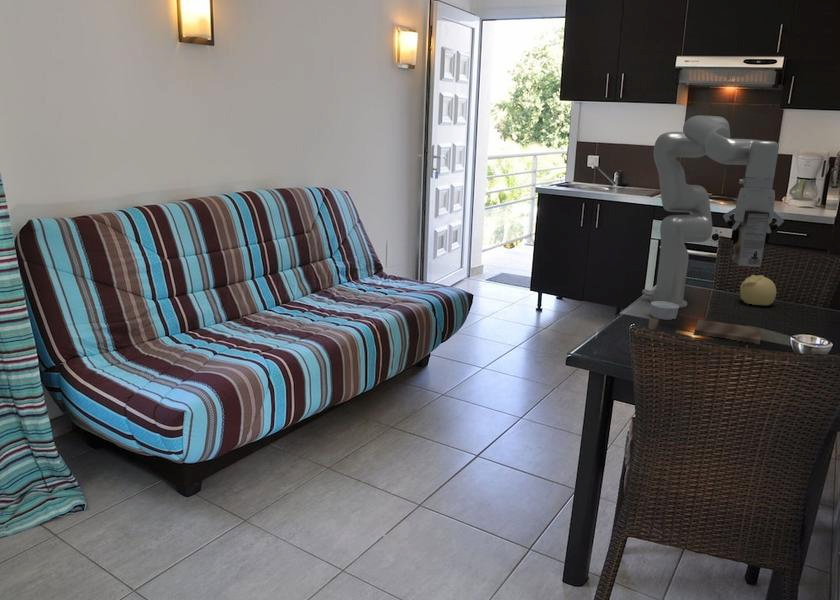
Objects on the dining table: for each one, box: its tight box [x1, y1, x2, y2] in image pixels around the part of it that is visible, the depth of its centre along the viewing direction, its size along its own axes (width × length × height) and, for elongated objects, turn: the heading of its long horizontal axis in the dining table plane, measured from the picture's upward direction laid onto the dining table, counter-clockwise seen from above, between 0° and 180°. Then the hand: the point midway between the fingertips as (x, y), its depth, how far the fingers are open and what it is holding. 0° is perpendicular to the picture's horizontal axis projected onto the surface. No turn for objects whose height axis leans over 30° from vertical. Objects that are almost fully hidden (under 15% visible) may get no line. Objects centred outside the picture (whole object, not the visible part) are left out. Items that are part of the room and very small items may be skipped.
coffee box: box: [731, 211, 770, 268], centre depth 205 cm, size 9×6×16 cm
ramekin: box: [650, 301, 680, 321], centre depth 228 cm, size 9×9×4 cm
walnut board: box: [693, 319, 762, 346], centre depth 212 cm, size 18×14×2 cm
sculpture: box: [739, 274, 777, 306], centre depth 250 cm, size 12×12×11 cm
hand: (748, 244), depth 206 cm, fingers closed on coffee box, 7 cm apart
